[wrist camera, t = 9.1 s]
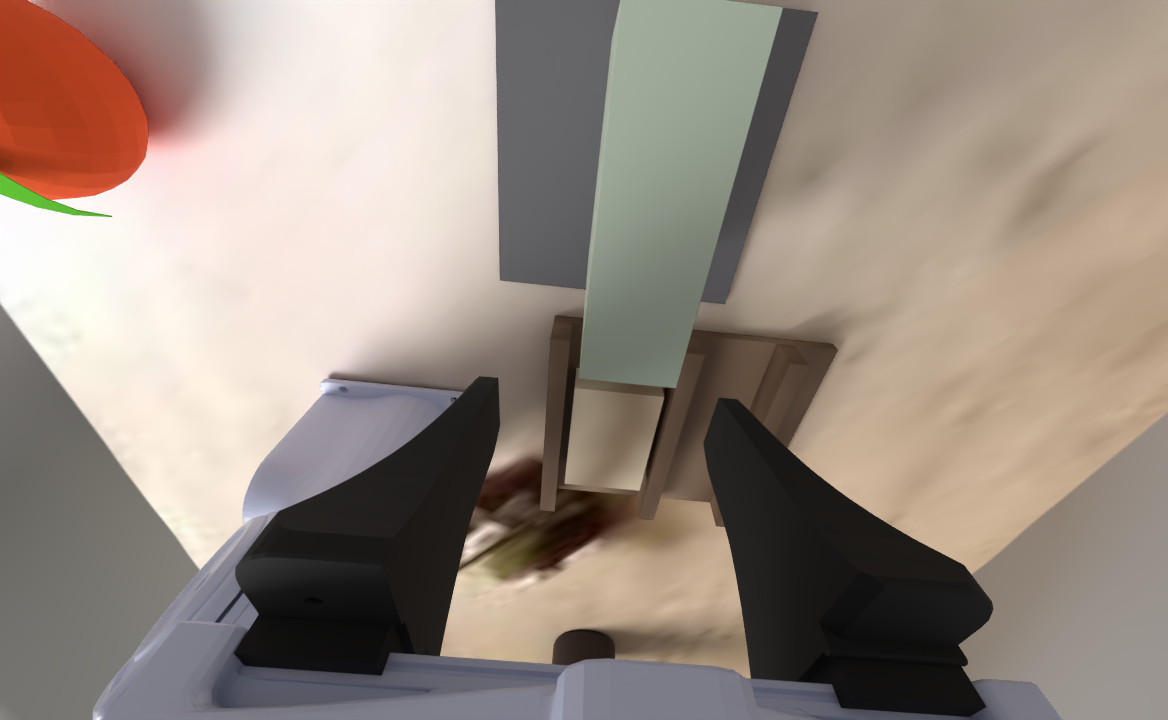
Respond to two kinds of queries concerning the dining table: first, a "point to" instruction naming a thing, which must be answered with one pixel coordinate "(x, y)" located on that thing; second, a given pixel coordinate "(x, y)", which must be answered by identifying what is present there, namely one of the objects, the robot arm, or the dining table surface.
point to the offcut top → (611, 433)
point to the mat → (599, 137)
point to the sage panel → (666, 176)
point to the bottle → (582, 647)
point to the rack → (688, 407)
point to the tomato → (62, 113)
